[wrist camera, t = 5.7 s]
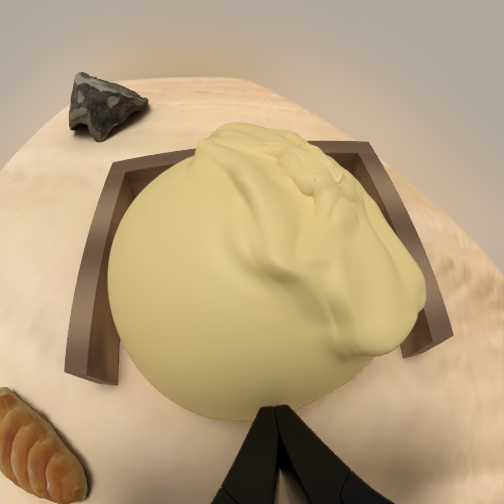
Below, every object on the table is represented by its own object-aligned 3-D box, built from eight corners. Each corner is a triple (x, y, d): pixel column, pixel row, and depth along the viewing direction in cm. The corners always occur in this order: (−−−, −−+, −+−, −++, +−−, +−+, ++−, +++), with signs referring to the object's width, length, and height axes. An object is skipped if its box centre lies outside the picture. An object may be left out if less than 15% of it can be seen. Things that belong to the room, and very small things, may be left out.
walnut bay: (422, 352, 14) (453, 335, 12) (97, 383, 14) (64, 371, 11) (359, 173, 23) (368, 141, 20) (126, 192, 22) (112, 162, 19)
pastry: (102, 445, 12) (65, 447, 9) (88, 523, 9) (55, 536, 5) (10, 385, 13) (-25, 372, 10) (-2, 454, 10) (-36, 450, 7)
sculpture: (387, 349, 15) (510, 249, 6) (199, 448, 12) (91, 492, 3) (292, 213, 20) (307, 71, 11) (134, 279, 18) (51, 152, 9)
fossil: (170, 97, 31) (128, 50, 21) (133, 159, 31) (79, 123, 21) (117, 91, 34) (77, 55, 24) (86, 144, 34) (38, 115, 24)
